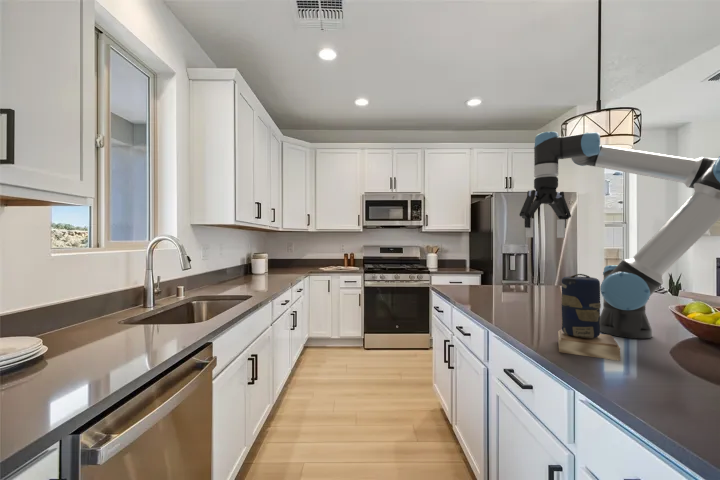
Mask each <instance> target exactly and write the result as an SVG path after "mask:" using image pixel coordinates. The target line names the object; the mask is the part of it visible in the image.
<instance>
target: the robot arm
mask: <svg viewBox="0 0 720 480" xmlns="http://www.w3.org/2000/svg"><path fill="white" fill-rule="evenodd" d="M533 151H534V159H533V160H534V161H533V162H534V163H533V165H534V167H533V169H534V171H533V176H534V179H533V188H534V189H530V190H527V195H526V198H525V201H524V202H523V205H522V208H521V210H520V212H519V217H521V218H522V219H524V228H525V238H534V226H535V225H534V221H535V219H534V218H533V216H534V215H535V213H536V212H537V210H538V209H539V208H540V206H541V205H543V204H544V205H548V206H549V207H551V209H552V211H553V212H554V213H555V215H556V217H558V219H556V239H561V238H563V239H565V238H566V235H565V234H566V230H565V229H566V227H567V220H569V218H571V217H572V214H571V211H570V210H569V207H568V202H567V200H566V198H565V193H564V192H565V191H558V192H557V189H558V187H559V178H558V176H559V160H565V159H571V162H573V163H574V164H576V165H578V166H581V167H584V166H589V167H595V168H596V167H597V168H600V169H601V168H602V169H607V170H613V171H618V172H623V173H629V174H634V175H639V176H642V177H643V176H644V177H649V178H654V179H660V180H665V181H670V182H676V183H681V184H684V185H685V187H686V188H690V189H693V190H694V192H693V193H692V195H691V196H689V198H688V199H687V200H686V201H685V202H684V203H683V204H682V205H681V206H680V207H679V208H678V209H677V210H676V211H675V212H674V214H673V215H672V216H671V217H670V218H669V219H668V220H667V221H666V222H665V223H664V224H663V225H662V226H661V227H660V228H659V229H658V231H656V233H654V234H653V235H652V236H651V237H650V239H648V241H647V242H646V243H645V244H644V245H643V246H642V247H641V248H640V249H639V250H638V251H637V252H636V254H635V255H633V256H632V257H630V258H623V259H622V260H621V261H620V262H619V263H618V264H617V265H615V264H613V265H605V266H604V268H603V272H602V275H603V280H602V282H601V283H600V295H601V297H602V298H603V299H602V300H603V301H602V302H603V303H602V304H603V305H602V306H603V307H602V310H601V312H600V333H602V334H606V335H612V336H614V337H620V338H621V337H622V338H629V339H640V340H641V339H650V338H652V337H653V330H652V326H651V323H650V321H649V318H648V315H647V313H646V305H647V303H648V302H649V300H650V297H651V296H652V295H653V294H654V293H655V292H656V291H657V290H658V289H659V288H660V287H661V286H662V285H663V284H664V282H663V281H664V280H663V275H664V274H665V273H666V272H667V271H668V270H669V269H670V268H672V266H673V265H674V264H675V263H676V262H677V261H678V260H679V259H680V258H682V256H683V255H685V253H687V251H688V250H689V249H691V247H692V246H693V245H694V244H696V243H697V242H698V241H699V240H700V238H702V237H703V236H704V235H705V234H706V233H707V232H708V231H709V230H710V229H711V228H712V227H713V225H715V224H716V223H717V222H718V221H719V220H720V156H718V157H704V156H701V157H698V158H695V159H694V158H687V157H682V156H676V155H668V154H662V153H656V152H649V151H643V150H635V149H631V148H630V149H628V148H623V147H622V148H621V147H616V146H610V145H602V144H601V134H600V133H599V132H597V131H594V132H585V133H579V134H571V135H567V136H560V135H559V132H557V131H545V132H544V131H543V132H541V133H538V134H537V135H535V137H534V147H533Z"/></svg>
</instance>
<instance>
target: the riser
mask: <svg viewBox="0 0 720 480" xmlns="http://www.w3.org/2000/svg"><path fill="white" fill-rule="evenodd" d="M557 333H558V334H557V340H558V341H557V342H558V352H559V353H564V354H570V355H577V356H578V355H579V356H584V357H592V358H597V359H606V360H611V361H612V360H613V361H618V362H619V361H621V347H620V346H619V344H618V342H617V341H616V339H615V337H613V335H610V334H606V333H600V335H599V336H598V337H595V338H581V337H575V336H571V335H568V334H565V333H564V332H563V331H562V328H561V329H560V330H558V332H557Z"/></svg>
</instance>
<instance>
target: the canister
mask: <svg viewBox="0 0 720 480" xmlns="http://www.w3.org/2000/svg"><path fill="white" fill-rule="evenodd" d="M601 307H602V305H601V282H600V279H597V278H596V277H591V276H589V275H587V274H584V273H577V274H574V275H569V276H564V277H562V278H561V329H562V331H563V332H564V333H565V334H568V335H571V336H575V337H581V338H595V337H598V336H599V335H600V334H601V332H600V315H601Z"/></svg>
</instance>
